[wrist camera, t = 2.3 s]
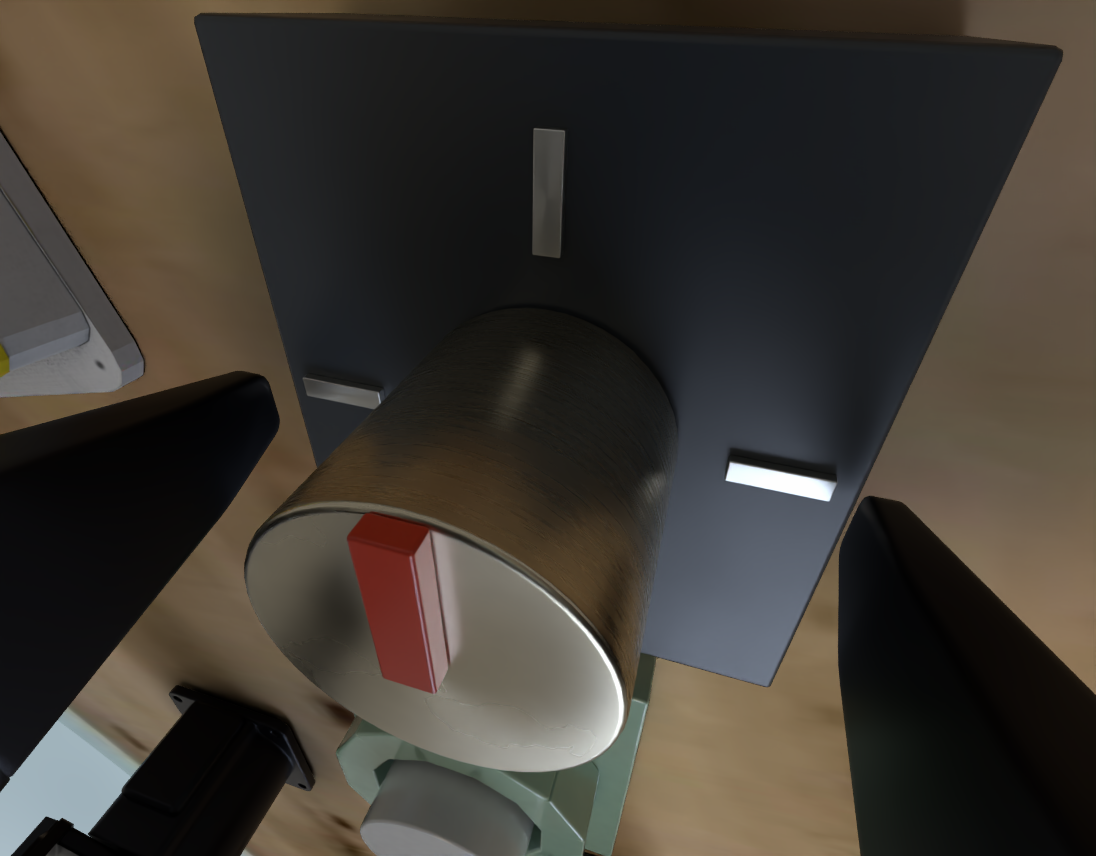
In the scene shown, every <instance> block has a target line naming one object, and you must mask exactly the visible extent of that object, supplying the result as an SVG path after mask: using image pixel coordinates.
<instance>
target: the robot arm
mask: <svg viewBox="0 0 1096 856" xmlns="http://www.w3.org/2000/svg"><path fill="white" fill-rule="evenodd" d="M279 424H280V418H279V414H278V411H277V407H276V404H275V401H274V398H273V394H272V391H271V388H270V385H269V382H268V381H267V379H266V378H265V377H264V376H262V375H260V374H255V373H250V372H245V371H235V372H231V373H227V374H224V375H220V376H216V377H212V378H209V379H205V380H201V381H198V382H194V383H190V384H186V385H183V386H179V387H175V388H172V389H168V390H164V391H161V392H157V393H153V394H149V395H146V396H142V397H138V398H135V399H131V400H127V401H123V402H120V403H116V404H112V405H109V406H105V407H101V408H98V409H94V410H90V411H86V412H83V413H79V414H75V415H72V416H68V417H64V418H60V419H57V420H53V421H49V422H46V423H42V424H38V425H35V426H31V427H27V428H23V429H20V430H16V431H12V432H9V433H5V434H1V435H0V792H1V791H2V789H3V788H4V787H5V786H6V784H7V783H8V782H9V780H10V778H9V777H11V776H13V774H14V773H15V772H16V771H17V770H18V768H19V767H20V766H21V765H22V763H23V762H24V761H25V760H26V758H27V757H28V756H29V755H30V754H31V752H32V751H33V750H34V749H35V747H36V746H37V745H38V744H39V742H40V741H41V740H42V738H43V737H44V736H45V735H46V734H47V732H48V731H49V730H50V729H51V727H52V726H53V725H54V724H55V722H56V721H57V720H58V719H59V717H60V716H61V715H62V714H63V712H64V711H65V710H66V709H67V707H68V706H69V705H70V704H71V703H72V701H73V700H74V699H75V698H76V696H77V695H78V694H79V693H80V691H81V690H82V689H83V688H84V686H85V685H86V684H87V683H88V681H89V680H90V679H91V678H92V676H93V675H94V674H95V673H96V671H97V670H98V669H99V668H100V666H101V665H102V664H103V663H104V661H105V660H106V659H107V658H108V656H109V655H110V654H111V653H112V651H113V650H114V649H115V648H116V647H117V645H118V644H119V643H120V642H121V640H122V639H123V638H124V637H125V635H126V634H127V633H128V632H129V630H130V629H131V628H132V627H133V625H134V624H135V623H136V622H137V620H138V619H139V618H140V617H141V615H142V614H143V613H144V612H145V610H146V609H147V608H148V607H149V605H150V604H151V603H152V602H153V600H154V599H155V598H156V597H157V595H158V594H159V593H160V592H161V591H162V589H163V588H164V587H165V586H166V584H167V583H168V582H169V581H170V579H171V578H172V577H173V576H174V574H175V573H176V572H177V571H178V569H179V568H180V567H181V566H182V564H183V563H184V562H185V561H186V559H187V558H188V557H189V556H190V554H191V553H192V552H193V551H194V549H195V548H196V547H197V546H198V544H199V543H200V542H201V541H202V539H203V538H204V537H205V536H206V535H207V533H208V532H209V531H210V530H211V528H212V527H213V526H214V525H215V523H216V522H217V521H218V520H219V518H220V517H221V516H222V514H223V513H224V512H225V510H226V509H227V508H228V506H229V505H230V504H231V502H232V501H233V499H234V498H235V496H236V495H237V493H238V492H239V490H240V489H241V487H242V486H243V484H244V483H245V481H246V480H247V478H248V476H249V475H250V473H251V472H252V470H253V469H254V467H255V466H256V464H257V463H258V461H259V460H260V458H261V457H262V455H263V454H264V452H265V450H266V449H267V447H268V446H269V444H270V443H271V441H272V440H273V438H274V437H275V435H276V433H277V432H278V429H279ZM838 666H839V678H840V688H841V696H842V705H843V713H844V721H845V730H846V738H847V746H848V755H849V763H850V771H851V780H852V788H853V796H854V805H855V813H856V821H857V830H858V838H859V846H860V855H861V856H1096V695H1095V694H1094V693H1093V692H1092V691H1091V690H1090V689H1089V688H1088V687H1087V686H1086V685H1085V684H1084V683H1083V682H1082V681H1081V680H1080V679H1079V678H1078V677H1077V676H1076V675H1075V674H1074V673H1073V672H1072V671H1071V670H1070V669H1069V668H1068V667H1067V666H1066V665H1065V664H1064V663H1063V662H1062V661H1061V660H1060V659H1059V658H1058V657H1057V656H1056V655H1055V654H1054V653H1053V652H1052V651H1051V650H1050V649H1049V648H1048V647H1047V646H1046V645H1045V644H1044V643H1043V642H1042V641H1041V640H1040V639H1039V638H1038V637H1037V636H1036V635H1035V634H1034V633H1033V632H1032V631H1031V630H1030V629H1029V628H1028V627H1027V626H1026V625H1025V624H1024V623H1023V622H1022V621H1021V620H1020V619H1019V618H1018V617H1017V616H1016V615H1015V614H1014V613H1013V612H1012V611H1011V610H1010V609H1009V608H1008V607H1007V606H1006V605H1005V604H1004V603H1003V602H1002V601H1001V600H1000V599H999V598H998V597H997V596H996V595H995V594H994V593H993V592H992V591H991V590H990V589H989V588H988V587H987V586H986V585H985V584H984V583H983V582H982V581H981V580H980V579H979V578H978V577H977V576H976V575H975V574H974V573H973V572H972V571H971V570H970V569H969V568H968V567H967V566H966V565H965V564H964V563H963V562H962V561H961V560H960V559H959V558H958V557H957V556H956V555H955V554H954V553H953V552H952V551H951V550H950V549H949V548H948V547H947V546H946V545H945V544H944V543H943V542H942V541H941V540H940V539H939V538H938V537H937V536H936V535H935V534H934V533H933V532H932V531H931V530H930V529H929V528H928V527H927V526H926V525H925V524H924V523H923V522H922V521H921V520H920V519H919V518H918V517H917V516H916V515H915V514H914V513H913V512H912V511H911V510H910V509H909V508H908V507H907V506H906V505H905V504H903V503H902V502H899V501H895V500H890V499H885V498H880V497H875V496H868V497H866V498H864V499H863V500H862V501H861V503H860V504H859V506H858V509H857V511H856V513H855V515H854V517H853V519H852V521H851V523H850V525H849V528H848V530H847V532H846V534H845V536H844V538H843V541H842V544H841V547H840V553H839V609H838ZM169 696H170V697H171V699H172V700H173V702H174V703H175V705H176V706H177V708H178V709H179V711H180V712H181V714H182V716H181V717H180V718H179V719H178V721H177V722H176V723H175V724H174V725H173V727H172V728H171V729H170V730H169V732H168V733H167V734H166V735H165V736H164V738H163V739H162V740H161V741H160V742H159V744H158V745H157V746H156V747H155V749H154V750H153V751H152V752H151V753H150V755H149V756H148V757H147V758H146V759H145V761H144V762H143V763H142V764H141V766H140V767H139V768H138V769H137V770H136V772H135V773H134V774H133V775H132V776H131V778H130V779H129V780H128V781H127V783H126V784H125V785H124V786H123V788H122V793H121V794H120V795H119V797H118V798H117V799H116V800H115V801H114V803H113V804H112V805H111V807H110V808H109V809H108V810H107V811H106V813H105V814H104V815H103V816H102V817H101V819H100V820H99V821H98V822H97V824H96V825H95V826H94V827H93V828H92V829H91V831H90V832H89V833H88V835H89V836H90V837H89V836H87V835H86V834H84V833H82V832H80V831H78V830H77V829H75V828H73V825H74V824H72V823H71V822H69V821H67V820H65V819H63V818H61V819H60V820H59V821H58V820H55V819H52V818H49V817H45V818H44V819H43V820H42V822H41V823H40V824H39V825H38V826H37V827H36V828H35V829H34V831H33V832H32V833H31V834H30V835H29V836H28V837H27V838H26V840H25V841H24V842H23V843H22V844H21V845H20V846H19V847H18V848H17V850H16V851H15V852H14V853H13V854H12V855H11V856H240V855H241V854H242V852H243V850H244V849H245V847H246V846H247V844H248V842H249V841H250V839H251V837H252V836H253V834H254V833H255V831H256V829H257V828H258V826H259V824H260V823H261V821H262V820H263V818H264V816H265V815H266V813H267V812H268V810H269V808H270V807H271V805H272V803H273V802H274V800H275V799H276V797H277V795H278V794H279V792H280V790H281V789H282V787H283V786H284V784H285V783H287V784H289V785H292V786H295V787H297V788H300V789H303V790H306V791H311V789H312V788H313V786H314V784H315V779H314V777H313V775H312V773H311V771H310V769H309V767H308V765H307V763H306V761H305V758H304V756H303V754H302V752H301V750H300V748H299V746H298V744H297V742H296V740H295V738H294V736H293V733H292V731H291V729H290V728H289V726H288V725H286V724H285V723H284V722H282V721H280V720H277V719H274V718H272V717H269V716H266V715H263V714H260V713H257V712H254V711H252V710H249V709H246V708H243V707H240V706H237V705H234V704H231V703H229V702H226V701H223V700H220V699H217V698H214V697H211V696H208V695H206V694H203V693H200V692H197V691H194V690H191V689H188V688H185V687H183V686H179V685H176V686H175V687H174V688H173V689H172V690H171V692H170V693H169Z"/></svg>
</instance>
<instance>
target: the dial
mask: <svg viewBox="0 0 1096 856" xmlns="http://www.w3.org/2000/svg"><path fill="white" fill-rule="evenodd" d="M677 452H678V430H677V425H676V420H675V416H674V412H673V410H672V407H671V404H670V402H669V399H668V397H667V395H666V393H665V391H664V389H663V388H662V386H661V384H660V382H659V381H658V379H657V378H656V377H655V375H654V374H653V372H652V371H651V370H650V368H649V367H648V366H647V365H646V364H645V363H644V361H643V360H642V359H641V358H640V357H639V356H638V355H637V354H636V353H635V352H634V351H633V350H632V349H630V348H629V347H628V346H627V345H625V344H624V343H623V342H622V341H621V340H619V339H618V338H616V337H615V336H613V335H612V334H610V333H608V332H607V331H605V330H604V329H602V328H600V327H598V326H596V325H594V324H592V323H590V322H588V321H586V320H583V319H580V318H577V317H574V316H572V315H569V314H566V313H561V312H556V311H552V310H547V309H536V308H510V309H503V310H497V311H492V312H488V313H485V314H482V315H479V316H476V317H474V318H472V319H470V320H468V321H466V322H464V323H462V324H460V325H459V326H458V327H456V328H455V329H454V330H452V331H451V332H450V333H448V334H447V335H446V336H445V337H444V338H443V340H442V341H441V342H440V343H439V344H438V345H437V346H436V347H435V348H434V349H433V350H432V351H431V352H430V353H429V354H428V355H427V356H426V357H425V358H424V359H423V360H422V361H421V362H420V363H419V364H418V365H417V366H416V367H415V368H414V369H413V370H412V371H411V372H410V373H409V374H408V375H407V376H406V378H405V379H404V380H403V381H402V382H401V383H400V384H399V385H398V386H397V387H396V388H395V389H394V390H393V391H392V392H391V393H390V394H389V395H388V396H387V397H386V398H385V399H384V400H383V401H382V402H381V403H380V404H379V405H378V406H377V407H376V408H375V409H374V410H373V411H372V412H371V413H370V414H369V416H368V417H367V418H366V419H365V420H364V421H363V422H362V423H361V424H360V425H359V426H358V427H357V428H356V429H355V430H354V431H353V432H352V433H351V434H350V435H349V436H348V437H347V438H346V439H345V440H344V441H343V442H342V443H341V444H340V445H339V446H338V447H337V448H336V449H335V450H334V451H333V452H332V453H331V455H330V456H329V457H328V458H327V459H326V460H325V461H324V462H323V463H322V464H321V465H320V466H319V467H318V468H317V469H316V470H315V471H314V472H313V473H312V474H311V475H310V476H309V477H308V478H307V479H306V480H305V481H304V482H303V483H302V484H301V485H300V486H299V487H298V488H297V489H296V490H295V491H294V493H293V494H292V495H291V496H290V497H289V498H288V499H287V500H286V501H285V502H284V503H283V504H282V505H281V506H280V507H279V508H278V509H277V510H276V511H275V512H274V513H273V514H272V515H271V516H270V517H269V518H268V519H267V520H266V521H265V522H264V523H263V525H262V526H261V527H260V528H259V529H258V530H257V531H256V533H255V535H254V537H253V538H252V540H251V542H250V544H249V547H248V550H247V555H246V559H245V563H244V578H245V583H246V588H247V593H248V596H249V598H250V601H251V604H252V607H253V609H254V611H255V613H256V615H257V617H258V619H259V620H260V622H261V624H262V626H263V627H264V629H265V630H266V632H267V633H268V635H269V636H270V638H271V639H272V640H273V642H274V643H275V644H276V645H277V647H278V648H279V649H280V650H281V651H282V653H283V654H284V655H285V656H286V657H287V658H288V659H289V660H290V661H291V662H292V663H293V665H294V666H295V667H296V668H297V669H298V670H300V671H301V672H302V673H303V674H304V675H305V676H306V677H307V678H308V679H309V680H310V681H311V682H313V683H314V684H315V685H316V686H317V687H319V688H320V689H321V690H322V691H324V692H325V693H326V694H327V695H328V696H330V697H331V698H333V699H334V700H335V701H337V702H338V703H340V704H341V705H342V706H344V707H345V708H346V709H348V710H350V711H351V712H353V713H354V714H356V715H357V716H359V717H361V718H362V719H364V720H365V721H367V722H369V723H371V724H373V725H374V726H376V727H378V728H380V729H381V730H383V731H385V732H387V733H389V734H391V735H393V736H395V737H397V738H399V739H401V740H404V741H406V742H408V743H410V744H413V745H415V746H417V747H420V748H422V749H425V750H428V751H430V752H433V753H436V754H438V755H441V756H444V757H448V758H451V759H454V760H457V761H461V762H465V763H469V764H473V765H477V766H481V767H487V768H492V769H498V770H505V771H515V772H551V771H560V770H565V769H570V768H575V767H577V766H580V765H583V764H586V763H589V762H591V761H592V760H594V759H596V758H598V757H599V756H601V755H603V754H604V753H605V752H606V751H607V750H608V749H609V748H610V747H612V746H613V744H614V743H615V742H616V740H617V739H618V737H619V736H620V734H621V733H622V731H623V730H624V728H625V725H626V722H627V719H628V716H629V712H630V707H631V702H632V696H633V691H634V685H635V680H636V675H637V669H638V664H639V659H640V653H641V648H642V643H643V637H644V632H645V627H646V621H647V616H648V610H649V605H650V600H651V594H652V589H653V584H654V578H655V573H656V568H657V562H658V557H659V552H660V546H661V541H662V535H663V530H664V525H665V519H666V514H667V509H668V503H669V498H670V493H671V487H672V482H673V477H674V471H675V466H676V461H677Z"/></svg>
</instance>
